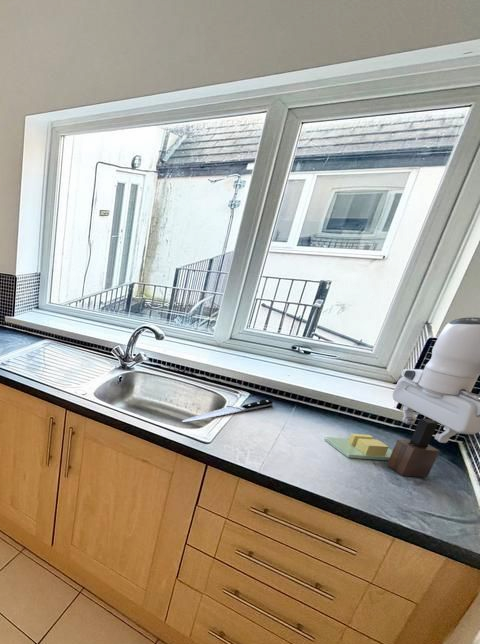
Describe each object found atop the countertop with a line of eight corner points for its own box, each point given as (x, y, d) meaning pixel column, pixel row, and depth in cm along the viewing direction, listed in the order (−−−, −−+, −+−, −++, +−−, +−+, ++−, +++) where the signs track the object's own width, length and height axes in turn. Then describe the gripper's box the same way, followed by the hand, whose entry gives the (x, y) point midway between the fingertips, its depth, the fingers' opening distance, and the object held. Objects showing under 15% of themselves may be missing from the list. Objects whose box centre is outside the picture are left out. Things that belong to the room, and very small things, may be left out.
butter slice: (366, 443, 123) (369, 434, 122) (370, 446, 122) (373, 437, 120) (347, 442, 123) (351, 433, 122) (351, 445, 122) (355, 436, 121)
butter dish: (374, 443, 125) (375, 440, 125) (402, 461, 116) (404, 458, 116) (324, 439, 127) (325, 436, 126) (348, 457, 118) (349, 454, 117)
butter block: (373, 448, 120) (377, 439, 119) (385, 456, 117) (388, 446, 116) (354, 447, 121) (358, 438, 120) (365, 454, 117) (369, 445, 116)
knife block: (410, 466, 114) (422, 440, 111) (427, 477, 109) (439, 450, 106) (386, 464, 114) (397, 439, 112) (402, 475, 110) (413, 449, 107)
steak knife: (168, 420, 139) (169, 413, 139) (259, 401, 151) (260, 396, 151) (181, 426, 135) (182, 420, 134) (274, 407, 146) (275, 401, 146)
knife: (409, 468, 113) (432, 419, 107) (417, 474, 110) (440, 423, 105) (395, 467, 113) (417, 418, 108) (403, 473, 111) (425, 422, 106)
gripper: (505, 401, 93) (477, 454, 98) (423, 368, 112) (403, 415, 117) (474, 399, 93) (447, 452, 98) (397, 367, 112) (378, 413, 117)
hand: (423, 432), depth 108 cm, fingers open, 8 cm apart
